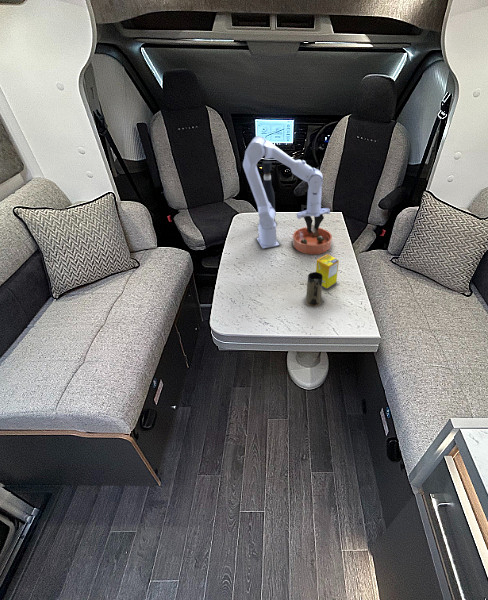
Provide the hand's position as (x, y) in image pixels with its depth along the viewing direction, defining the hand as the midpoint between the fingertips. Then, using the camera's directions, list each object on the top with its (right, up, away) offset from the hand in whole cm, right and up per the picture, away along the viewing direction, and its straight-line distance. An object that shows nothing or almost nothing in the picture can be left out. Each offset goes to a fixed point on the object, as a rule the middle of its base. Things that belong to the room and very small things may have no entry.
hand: (312, 230), depth 149 cm
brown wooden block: (0, -1, +1) cm, 1 cm away
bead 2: (+4, -4, +5) cm, 8 cm away
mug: (-2, -32, -27) cm, 42 cm away
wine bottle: (-20, +7, +20) cm, 30 cm away
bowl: (0, -5, +5) cm, 7 cm away
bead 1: (-4, -6, +3) cm, 7 cm away
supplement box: (+4, -24, -18) cm, 31 cm away
